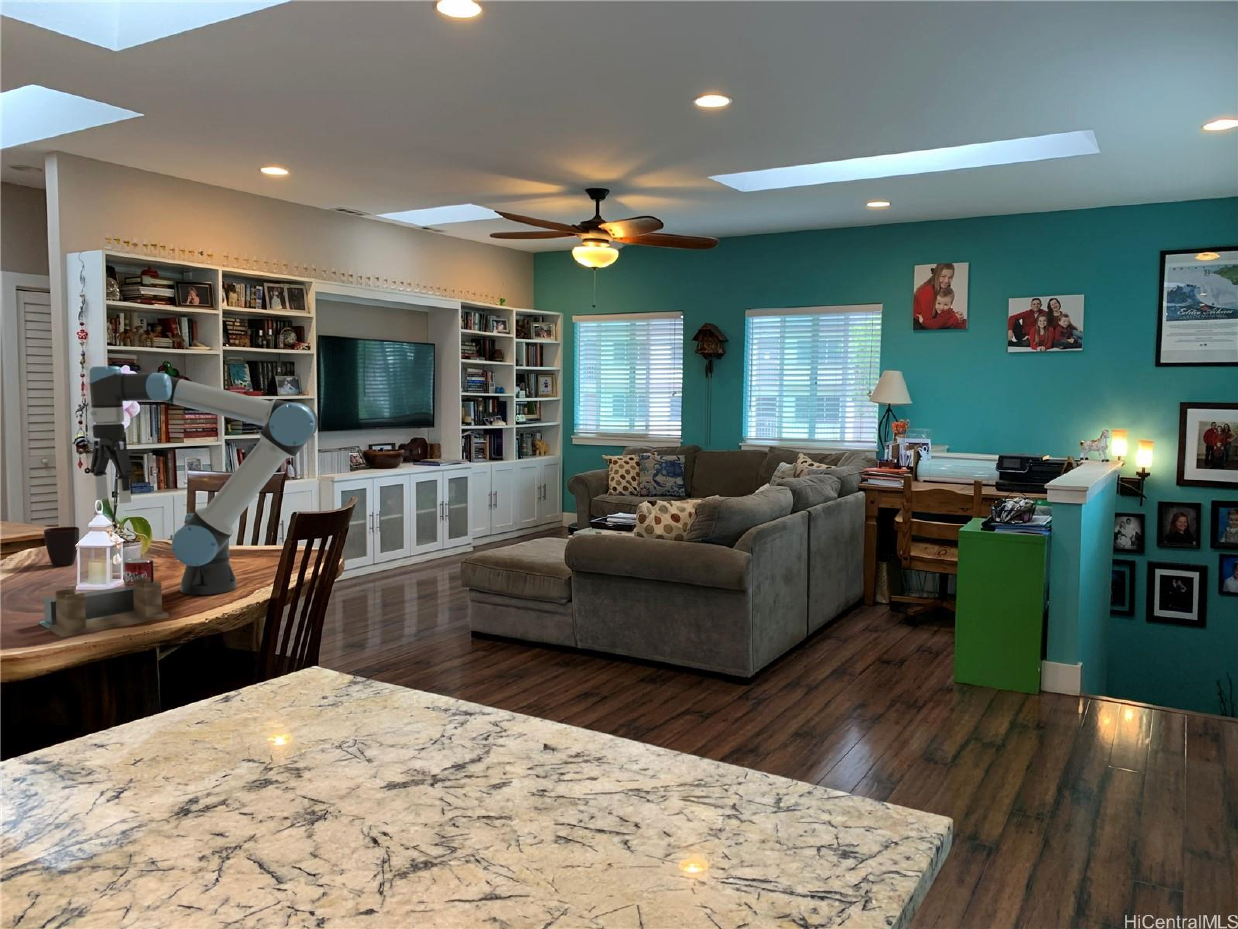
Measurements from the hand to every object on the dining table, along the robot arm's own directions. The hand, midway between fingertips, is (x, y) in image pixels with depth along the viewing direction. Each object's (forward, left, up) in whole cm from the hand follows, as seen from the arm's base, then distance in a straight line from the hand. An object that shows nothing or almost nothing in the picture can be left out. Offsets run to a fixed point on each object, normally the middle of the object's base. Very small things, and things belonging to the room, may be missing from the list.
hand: (113, 501), depth 246 cm
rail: (+9, +11, -28) cm, 32 cm away
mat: (+9, +11, -29) cm, 32 cm away
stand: (+9, +21, -29) cm, 37 cm away
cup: (-9, -70, -29) cm, 76 cm away
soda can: (-5, +3, -29) cm, 29 cm away
